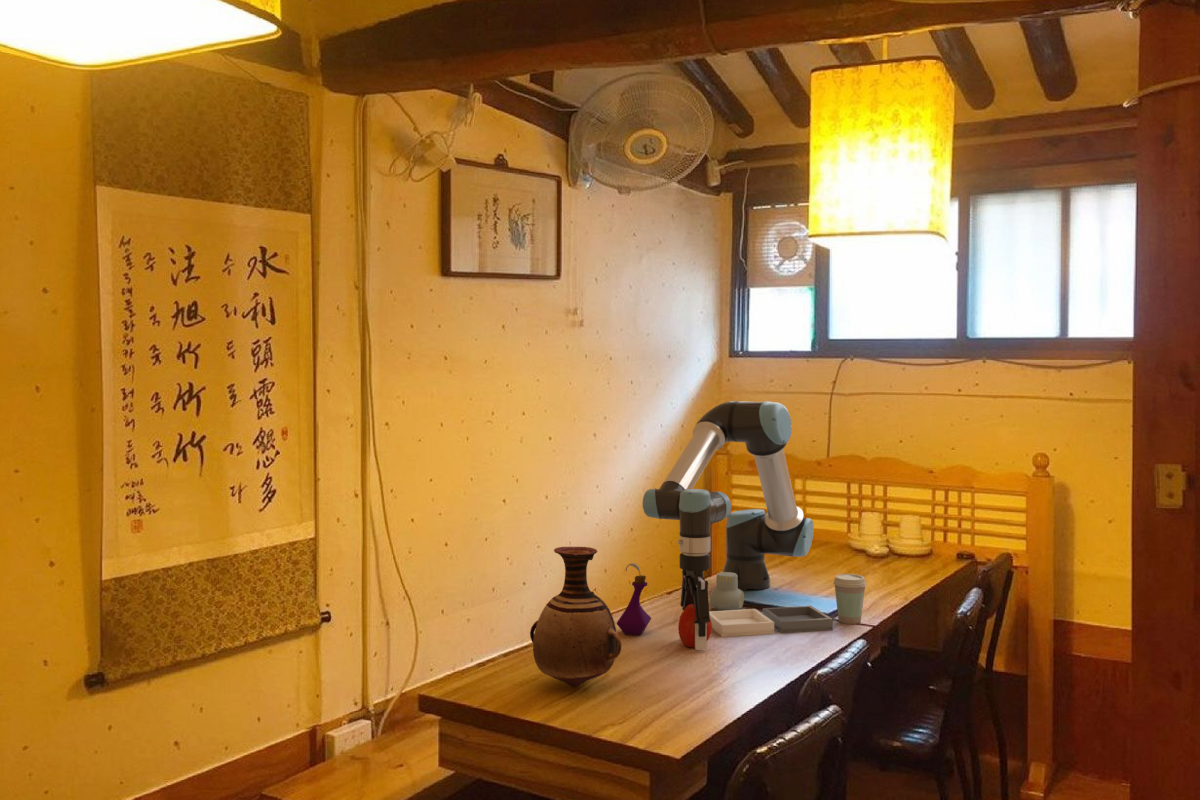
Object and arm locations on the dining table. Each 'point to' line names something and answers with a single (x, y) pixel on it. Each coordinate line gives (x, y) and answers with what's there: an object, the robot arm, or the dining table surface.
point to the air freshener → (726, 593)
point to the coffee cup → (849, 597)
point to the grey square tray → (798, 619)
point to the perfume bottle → (635, 609)
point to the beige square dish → (741, 622)
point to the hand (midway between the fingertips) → (694, 643)
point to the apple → (690, 626)
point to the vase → (575, 627)
